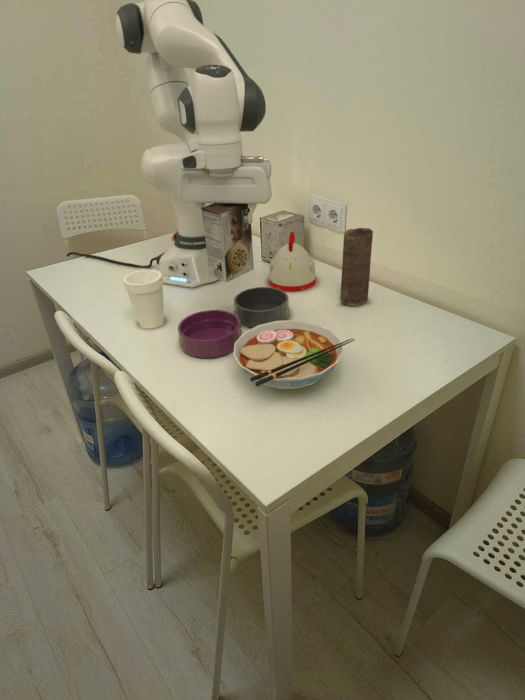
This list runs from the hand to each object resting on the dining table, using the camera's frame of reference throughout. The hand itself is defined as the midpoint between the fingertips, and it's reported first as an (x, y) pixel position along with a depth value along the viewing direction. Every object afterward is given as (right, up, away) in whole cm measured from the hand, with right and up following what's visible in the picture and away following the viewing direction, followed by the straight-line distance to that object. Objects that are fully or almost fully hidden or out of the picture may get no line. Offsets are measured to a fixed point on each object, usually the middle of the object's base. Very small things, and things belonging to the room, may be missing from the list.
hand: (227, 222), depth 106 cm
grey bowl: (+8, -19, +20) cm, 29 cm away
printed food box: (0, -10, +7) cm, 12 cm away
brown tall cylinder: (+33, -15, +24) cm, 43 cm away
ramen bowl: (+13, -34, -3) cm, 37 cm away
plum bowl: (-5, -26, +10) cm, 29 cm away
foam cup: (-21, -21, +20) cm, 36 cm away
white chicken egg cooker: (+17, -8, +37) cm, 42 cm away
